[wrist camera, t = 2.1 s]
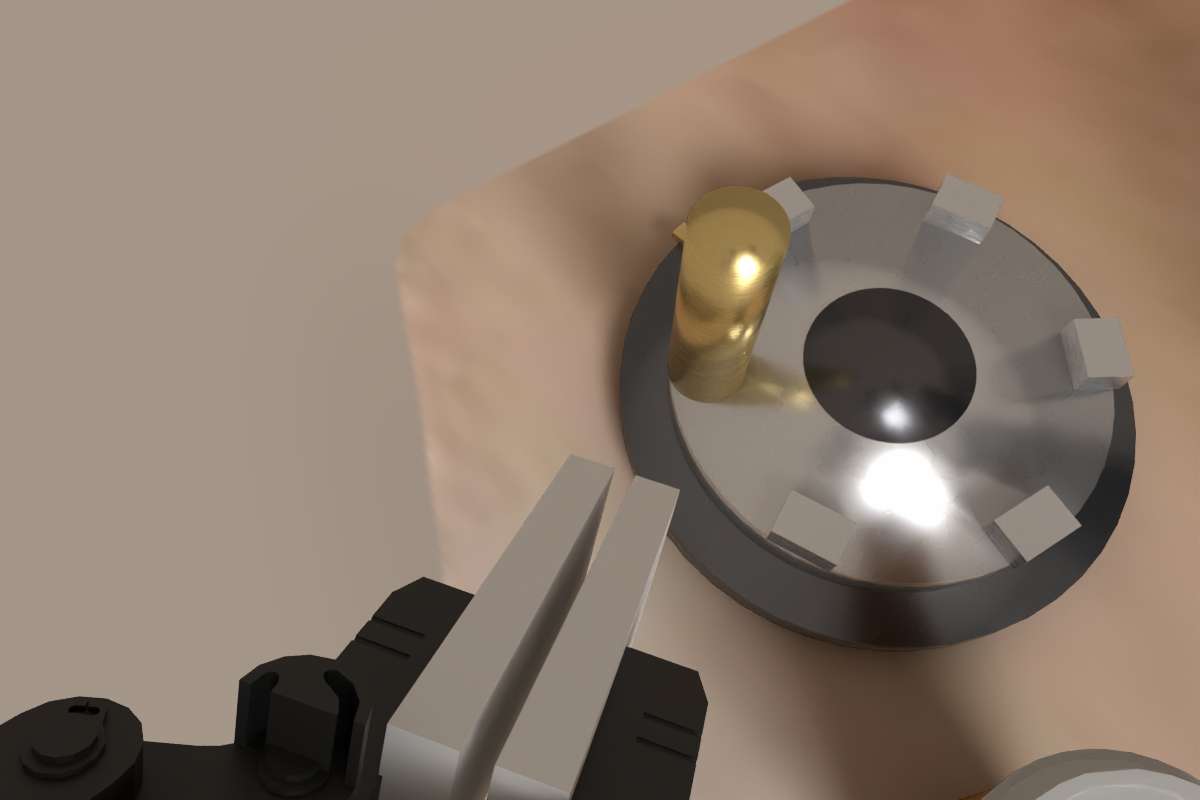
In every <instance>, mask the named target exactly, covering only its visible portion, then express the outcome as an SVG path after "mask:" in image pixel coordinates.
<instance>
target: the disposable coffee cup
mask: <svg viewBox="0 0 1200 800" xmlns="http://www.w3.org/2000/svg"><path fill="white" fill-rule="evenodd" d="M960 800H1200V781H1199V780H1198V779H1196V778H1194V777H1193V776H1191V775H1189V774H1188V773H1186V772H1184V771H1182V770H1180V769H1177V768H1175V767H1173V766H1170V765H1168V764H1166V763H1163V762H1161V761H1159V760H1155V759H1152V758H1148V757H1145V756H1142V755H1138V754H1135V753H1131V752H1123V751H1115V750H1107V749H1085V750H1075V751H1067V752H1061V753H1058V754H1054V755H1051V756H1048V757H1044V758H1041V759H1038V760H1036V761H1034V762H1032V763H1030V764H1028V765H1026V766H1024V767H1022V768H1020V769H1018V770H1016V771H1014V772H1013V773H1012V774H1010V775H1009V776H1008V777H1007V778H1006V779H1004V780H1003V781H1002V782H1001V783H1000V784H999V785H997V786H996V787H995V788H994V789H990V790H988V791H985V792H981V793H978V794H975V795H972V796H969V797H966V798H963V799H960Z"/></svg>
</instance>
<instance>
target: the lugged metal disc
mask: <svg viewBox="0 0 1200 800" xmlns="http://www.w3.org/2000/svg"><path fill="white" fill-rule="evenodd" d="M1004 198H1005V197H1002V196H1000V195H998V194H995V193H993V192H990V191H988V190H985V189H983V188H981V187H978V186H976V185H973V184H971V183H969V182H966V181H964V180H961V179H959V178H956V177H954V176H952V175H949V174H947V175H946V177H945V179H944V180H943V182H942V184H941V186H940V188H939V189H938V191H937V193H936V194H935V193H931V192H927V191H923V190H919V189H915V188H910V187H903V186H896V185H888V184H866V183H857V184H844V185H833V186H827V187H822V188H817V189H811V190H807V191H804V192H803V191H802V190H801V189H800V188H799V187H798V185H797V184H796V183H795V182H794V181H793V180H792V178H791V177H789V178H787V179H785V180H783V181H781V182H779V183H777V184H775V185H773V186H771V187H769V188H768V189H766V190H764V191H761V190H758V189H755V188H752V187H748V186H739V185H733V186H725V187H720V188H717V189H714V190H712V191H710V192H708V193H706V194H705V195H703V196H702V197H701V198H700V199H699V200H698V201H697V202H696V203H695V204H694V205H693V207H692V208H691V210H690V212H689V215H688V218H687V224H686V231H685V238H684V246H683V253H682V260H681V267H680V274H679V282H678V289H677V296H676V303H675V311H674V318H673V325H672V332H671V339H670V347H669V354H668V361H667V394H668V402H669V411H670V415H671V419H672V423H673V427H674V431H675V434H676V438H677V440H678V443H679V445H680V448H681V450H682V452H683V455H684V457H685V460H686V462H687V464H688V466H689V467H690V469H691V471H692V472H693V474H694V476H695V478H696V479H697V481H698V483H699V485H700V486H701V488H702V489H703V490H704V492H705V493H706V494H707V495H708V497H709V498H710V499H711V501H712V502H713V503H714V505H715V506H716V507H717V508H718V510H719V511H720V512H721V513H722V514H723V515H724V516H725V517H726V518H727V519H728V520H729V521H730V522H731V523H732V524H733V525H734V526H735V527H736V528H737V529H738V530H739V531H740V532H742V533H743V534H744V535H745V536H747V537H748V538H749V539H751V540H752V541H753V542H754V543H756V544H757V545H758V546H759V547H761V548H762V549H763V550H765V551H767V552H768V553H770V554H772V555H773V556H775V557H777V558H778V559H780V560H782V561H783V562H785V563H787V564H788V565H790V566H792V567H795V568H797V569H799V570H801V571H804V572H806V573H808V574H810V575H812V576H815V577H817V578H820V579H823V580H827V581H830V582H833V583H836V584H840V585H843V586H846V587H852V588H857V589H863V590H868V591H874V592H888V593H917V592H929V591H938V590H943V589H947V588H951V587H956V586H960V585H965V584H967V583H970V582H973V581H975V580H978V579H981V578H983V577H986V576H989V575H991V574H993V573H995V572H997V571H999V570H1001V569H1003V568H1005V567H1007V566H1009V565H1010V566H1011V567H1012V568H1013V569H1014V568H1016V567H1018V566H1020V565H1022V564H1024V563H1026V562H1028V561H1030V560H1031V559H1033V558H1034V557H1036V556H1037V555H1039V554H1040V553H1042V552H1043V551H1045V550H1046V549H1048V548H1049V547H1051V546H1052V545H1054V544H1055V543H1057V542H1058V541H1060V540H1061V539H1063V538H1064V537H1066V536H1067V535H1069V534H1070V533H1072V532H1073V531H1075V530H1076V529H1078V528H1079V527H1081V526H1082V525H1081V524H1080V523H1079V522H1078V521H1077V519H1076V518H1075V517H1074V516H1075V515H1076V514H1077V513H1078V512H1079V511H1080V509H1081V508H1082V506H1083V505H1084V503H1085V502H1086V500H1087V499H1088V497H1089V496H1090V494H1091V493H1092V491H1093V490H1094V488H1095V486H1096V483H1097V481H1098V479H1099V477H1100V474H1101V472H1102V470H1103V468H1104V465H1105V462H1106V459H1107V455H1108V451H1109V447H1110V444H1111V440H1112V432H1113V422H1114V391H1113V389H1119V388H1120V387H1121V386H1123V385H1124V384H1125V383H1127V382H1128V381H1129V380H1131V379H1132V378H1133V377H1135V376H1134V372H1133V369H1132V365H1131V361H1130V358H1129V354H1128V351H1127V347H1126V343H1125V340H1124V336H1123V333H1122V329H1121V325H1120V322H1119V318H1091V316H1090V314H1089V312H1088V310H1087V308H1086V307H1085V305H1084V304H1083V302H1082V301H1081V299H1080V298H1079V296H1078V295H1077V293H1076V292H1075V290H1074V289H1073V287H1072V286H1071V285H1070V283H1069V282H1068V281H1067V280H1066V279H1065V277H1064V276H1063V275H1062V274H1061V273H1060V271H1059V270H1058V269H1057V268H1056V267H1055V266H1054V265H1053V264H1052V263H1051V262H1050V261H1049V260H1048V259H1047V258H1046V257H1045V256H1044V255H1043V254H1042V253H1041V252H1040V251H1039V250H1038V249H1037V248H1036V247H1034V246H1033V245H1032V244H1031V243H1029V242H1028V241H1027V240H1025V239H1024V238H1023V237H1021V236H1020V235H1019V234H1018V233H1016V232H1015V231H1014V230H1012V229H1011V228H1009V227H1007V226H1006V225H1004V224H1002V223H1001V222H999V221H998V220H996V219H995V218H996V216H997V214H998V211H999V209H1000V207H1001V205H1002V203H1003V200H1004Z"/></svg>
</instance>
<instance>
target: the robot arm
mask: <svg viewBox="0 0 1200 800" xmlns="http://www.w3.org/2000/svg"><path fill="white" fill-rule="evenodd" d="M614 469H615V468H612V467H609V466H606V465H603V464H600V463H597V462H594V461H591V460H588V459H584V458H581V457H578V456H575V455H572V454H571V455H570V456H569V458H568V459H567V461H566V462H565V464H564V465H563V466H562V468H561V469H560V471H559V472H558V474H557V475H556V477H555V478H554V480H553V481H552V483H551V484H550V486H549V487H548V488H547V490H546V491H545V493H544V494H543V496H542V497H541V499H540V500H539V502H538V503H537V505H536V506H535V508H534V509H533V511H532V512H531V513H530V515H529V516H528V518H527V519H526V521H525V522H524V524H523V525H522V527H521V528H520V530H519V531H518V533H517V534H516V535H515V537H514V538H513V540H512V541H511V543H510V544H509V546H508V547H507V549H506V550H505V552H504V553H503V555H502V556H501V557H500V559H499V560H498V562H497V563H496V565H495V566H494V568H493V569H492V571H491V572H490V574H489V575H488V577H487V578H486V579H485V581H484V582H483V584H482V585H481V587H480V588H479V590H478V591H477V593H476V594H475V595H473V594H470V593H468V592H465V591H462V590H459V589H456V588H454V587H451V586H448V585H445V584H442V583H440V582H436V581H434V580H431V579H428V578H425V577H422V578H420V579H418V580H416V581H414V582H412V583H410V584H408V585H406V586H404V587H402V588H400V589H398V590H396V591H394V592H392V593H391V595H390V596H389V597H388V598H387V599H386V601H385V602H384V603H383V604H382V605H381V607H380V608H379V609H378V610H377V611H376V612H375V614H374V615H373V617H372V619H371V621H368V622H367V623H366V624H365V625H364V627H363V628H362V629H361V630H360V632H359V633H358V634H357V635H356V638H355V640H354V641H353V640H352V641H351V642H350V643H349V644H348V646H347V647H346V648H345V649H344V650H343V652H342V653H341V654H340V655H339V657H338V658H337V659H336V660H334V659H329V658H324V657H319V656H314V655H301V656H286V657H282V658H279V659H276V660H273V661H270V662H267V663H264V664H261V665H259V666H257V667H256V668H255V669H253V670H252V671H251V672H249V673H248V674H247V675H246V676H244V677H243V678H241V679H240V680H239V692H238V703H237V716H236V728H235V740H234V743H233V744H227V745H222V746H193V745H181V744H170V743H157V742H147V741H143V733H142V724H141V722H140V721H139V720H138V718H137V717H136V716H135V715H134V714H133V713H132V711H131V710H130V709H129V708H127V707H125V706H123V705H120V704H118V703H116V702H113V701H111V700H109V699H104V698H92V697H73V698H67V699H61V700H55V701H50V702H47V703H44V704H42V705H40V706H37V707H35V708H33V709H31V710H28V711H25V712H23V713H21V714H19V715H17V716H15V717H14V718H12V719H10V720H8V721H7V722H5V723H3V724H1V725H0V800H485V798H486V796H487V794H488V796H487V800H689V798H690V793H691V788H692V783H693V778H694V772H695V767H696V761H697V757H698V752H699V747H700V742H701V735H702V732H703V726H704V721H705V716H706V711H707V706H708V701H707V698H706V695H705V692H704V689H703V686H702V683H701V680H700V676H699V673H698V671H695V670H692V669H689V668H686V667H684V666H681V665H678V664H675V663H672V662H670V661H667V660H664V659H661V658H658V657H655V656H653V655H650V654H647V653H644V652H641V651H639V650H636V649H633V648H631V646H632V643H633V640H634V637H635V634H636V632H637V629H638V626H639V623H640V620H641V616H642V613H643V610H644V607H645V603H646V600H647V597H648V593H649V590H650V587H651V584H652V580H653V577H654V574H655V571H656V567H657V564H658V561H659V557H660V554H661V551H662V548H663V544H664V541H665V538H666V535H667V531H668V528H669V525H670V521H671V518H672V515H673V512H674V508H675V505H676V502H677V499H678V495H679V492H680V489H676V488H673V487H670V486H667V485H664V484H661V483H658V482H655V481H652V480H649V479H646V478H643V477H640V476H637V475H635V477H634V480H633V482H632V484H631V486H630V488H629V490H628V492H627V494H626V496H625V498H624V500H623V502H622V504H621V506H620V508H619V510H618V512H617V515H616V517H615V519H614V521H613V523H612V525H611V527H610V529H609V531H608V533H607V535H606V537H605V539H604V541H603V543H602V545H601V548H600V550H599V552H598V554H597V556H596V558H595V560H594V562H593V564H592V566H591V568H590V570H589V572H588V574H587V576H586V573H587V569H588V566H589V562H590V558H591V554H592V551H593V547H594V543H595V539H596V536H597V532H598V528H599V525H600V521H601V517H602V513H603V510H604V506H605V502H606V498H607V495H608V491H609V487H610V483H611V480H612V476H613V472H614ZM585 577H586V578H585Z"/></svg>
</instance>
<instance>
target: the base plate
mask: <svg viewBox="0 0 1200 800" xmlns="http://www.w3.org/2000/svg"><path fill="white" fill-rule="evenodd" d="M857 183H866V184H888V185H896V186H903V187H910V188H915V189H919V190H923V191H927V192H931V193H935V194H936V193H937V192H936V191H933V190H930V189H927V188H924V187H920V186H915V185H910V184H906V183H901V182H896V181H890V180H880V179H871V178H825V179H816V180H807V181H801V182H796V184H797V185H798V187H799V188H800V189H801V190H802V191H803V192H804V191H807V190H811V189H817V188H822V187H827V186H833V185H844V184H857ZM995 219H996V220H998V221H999V222H1001V223H1002V224H1004V225H1006V226H1007V227H1009V228H1011V229H1012V230H1014V231H1015V232H1016V233H1018V234H1019V235H1020V236H1021V237H1023V238H1024V239H1025V240H1027V241H1028V242H1029V243H1031V244H1032V245H1033V246H1034V247H1036V248H1037V249H1038V250H1039V251H1040V252H1041V253H1042V254H1043V255H1044V256H1045V257H1046V258H1047V259H1048V260H1049V261H1050V262H1051V263H1052V264H1053V265H1054V266H1055V267H1056V268H1057V269H1058V270H1059V271H1060V273H1061V274H1062V275H1063V276H1064V277H1065V279H1066V280H1067V281H1068V282H1069V283H1070V285H1071V286H1072V287H1073V289H1074V290H1075V292H1076V293H1077V295H1078V296H1079V298H1080V299H1081V301H1082V302H1083V304H1084V305H1085V307H1086V308H1087V310H1088V312H1089V314H1090V316H1091V318H1100V316H1099V315H1098V313H1097V312H1096V310H1095V309H1094V307H1093V306H1092V305H1091V303H1090V302H1089V300H1088V299H1087V298H1086V296H1085V295H1084V293H1083V292H1082V291H1081V289H1080V288H1079V287H1078V286H1077V285H1076V283H1075V282H1074V281H1073V280H1072V279H1071V278H1070V277H1069V276H1068V275H1067V273H1066V272H1065V271H1064V270H1063V269H1062V268H1061V267H1060V266H1059V265H1058V264H1057V263H1056V262H1055V261H1054V260H1053V259H1052V258H1051V257H1049V256H1048V255H1047V254H1046V253H1045V252H1044V251H1043V250H1042V249H1040V248H1039V247H1038V246H1037V245H1036V244H1035V243H1033V242H1032V241H1031V240H1029V239H1028V238H1026V237H1025V236H1024V235H1022V234H1021V233H1019V232H1018V231H1017V230H1015V229H1014V228H1012V227H1011V226H1010V225H1008V224H1006V223H1005V222H1003V221H1001V220H999V219H998V218H995ZM685 231H686V223H685V222H683V223H682V224H681V225H680V226H679V227H678V228H676V229H675V230H674V231H673V232H672V237H673V238H674V239H675V240H676V241H678V242H679V243H678V244H677V246H676V247H675V248H674V249H673V250H672V251H671V252H670V254H669V255H668V256H667V257H666V258H665V259H664V260H663V262H662V263H661V264H660V265H659V267H658V268H657V270H656V271H655V273H654V275H653V276H652V278H651V279H650V281H649V282H648V284H647V285H646V287H645V289H644V291H643V293H642V295H641V297H640V300H639V302H638V304H637V306H636V308H635V310H634V313H633V315H632V319H631V322H630V326H629V329H628V332H627V336H626V339H625V344H624V351H623V358H622V365H621V383H620V399H621V420H622V427H623V434H624V441H625V445H626V449H627V452H628V456H629V459H630V463H631V466H632V470H633V473H634V475H637V476H640V477H643V478H646V479H649V480H652V481H655V482H658V483H661V484H664V485H667V486H670V487H673V488H676V489H680V492H679V495H678V499H677V502H676V505H675V508H674V512H673V515H672V518H671V521H670V525H669V528H668V531H667V536H668V537H669V538H670V539H671V541H672V542H673V543H674V544H675V546H676V547H677V548H678V549H679V551H680V552H681V553H682V554H683V556H684V557H685V558H686V559H687V560H688V561H689V562H690V563H691V564H692V565H693V566H694V567H695V568H696V569H697V570H698V571H699V572H701V573H702V574H703V575H704V576H705V577H706V578H707V579H708V580H709V581H710V582H711V583H712V584H714V585H715V586H716V587H718V588H719V589H720V590H722V591H723V592H724V593H726V594H727V595H728V596H730V597H731V598H732V599H734V600H735V601H736V602H738V603H739V604H740V605H742V606H744V607H746V608H748V609H749V610H751V611H753V612H755V613H756V614H758V615H760V616H762V617H763V618H765V619H767V620H769V621H770V622H772V623H775V624H777V625H780V626H782V627H784V628H787V629H789V630H792V631H794V632H796V633H799V634H801V635H804V636H807V637H810V638H814V639H818V640H821V641H825V642H828V643H832V644H836V645H839V646H845V647H853V648H860V649H867V650H874V651H917V650H925V649H933V648H940V647H948V646H951V645H955V644H959V643H962V642H966V641H969V640H973V639H976V638H980V637H983V636H986V635H989V634H991V633H994V632H997V631H999V630H1001V629H1003V628H1006V627H1008V626H1010V625H1012V624H1015V623H1017V622H1019V621H1021V620H1024V619H1026V618H1028V617H1030V616H1031V615H1033V614H1034V613H1036V612H1037V611H1039V610H1041V609H1042V608H1044V607H1045V606H1047V605H1048V604H1050V603H1051V602H1053V601H1054V600H1056V599H1057V598H1058V597H1060V596H1061V595H1062V594H1063V593H1064V592H1065V591H1066V590H1067V589H1068V588H1070V587H1071V586H1072V585H1073V584H1074V583H1075V582H1076V581H1077V580H1079V579H1080V578H1081V577H1082V576H1083V574H1084V573H1085V572H1086V571H1087V569H1088V568H1089V567H1090V566H1091V564H1092V563H1093V562H1094V561H1095V559H1096V558H1097V557H1098V556H1099V554H1100V553H1101V552H1102V550H1103V549H1104V547H1105V545H1106V543H1107V542H1108V540H1109V538H1110V536H1111V535H1112V533H1113V531H1114V529H1115V527H1116V526H1117V524H1118V521H1119V519H1120V516H1121V513H1122V510H1123V508H1124V505H1125V502H1126V500H1127V497H1128V494H1129V489H1130V484H1131V479H1132V474H1133V469H1134V464H1135V440H1136V430H1135V420H1134V410H1133V401H1132V397H1131V393H1130V389H1129V385H1128V382H1127V383H1125V384H1124V385H1123V386H1121V387H1120V388H1119V389H1113V391H1114V422H1113V432H1112V440H1111V444H1110V447H1109V451H1108V455H1107V459H1106V462H1105V465H1104V468H1103V470H1102V472H1101V474H1100V477H1099V479H1098V481H1097V483H1096V486H1095V488H1094V490H1093V491H1092V493H1091V494H1090V496H1089V497H1088V499H1087V500H1086V502H1085V503H1084V505H1083V506H1082V508H1081V509H1080V511H1079V512H1078V513H1077V514H1076V515H1075V516H1074V517H1075V518H1076V519H1077V521H1078V522H1079V523H1080V524H1081V525H1082V526H1081V527H1079V528H1078V529H1076V530H1075V531H1073V532H1072V533H1070V534H1069V535H1067V536H1066V537H1064V538H1063V539H1061V540H1060V541H1058V542H1057V543H1055V544H1054V545H1052V546H1051V547H1049V548H1048V549H1046V550H1045V551H1043V552H1042V553H1040V554H1039V555H1037V556H1036V557H1034V558H1033V559H1031V560H1030V561H1028V562H1026V563H1024V564H1022V565H1020V566H1018V567H1016V568H1014V569H1013V568H1012V567H1011V566H1010V565H1009V566H1007V567H1005V568H1003V569H1001V570H999V571H997V572H995V573H993V574H991V575H989V576H986V577H983V578H981V579H978V580H975V581H973V582H970V583H967V584H965V585H960V586H956V587H951V588H947V589H943V590H938V591H929V592H917V593H888V592H874V591H868V590H863V589H857V588H852V587H846V586H843V585H840V584H836V583H833V582H830V581H827V580H823V579H820V578H817V577H815V576H812V575H810V574H808V573H806V572H804V571H801V570H799V569H797V568H795V567H792V566H790V565H788V564H787V563H785V562H783V561H782V560H780V559H778V558H777V557H775V556H773V555H772V554H770V553H768V552H767V551H765V550H763V549H762V548H761V547H759V546H758V545H757V544H756V543H754V542H753V541H752V540H751V539H749V538H748V537H747V536H745V535H744V534H743V533H742V532H740V531H739V530H738V529H737V528H736V527H735V526H734V525H733V524H732V523H731V522H730V521H729V520H728V519H727V518H726V517H725V516H724V515H723V514H722V513H721V512H720V511H719V510H718V508H717V507H716V506H715V505H714V503H713V502H712V501H711V499H710V498H709V497H708V495H707V494H706V493H705V492H704V490H703V489H702V488H701V486H700V485H699V483H698V481H697V479H696V478H695V476H694V474H693V472H692V471H691V469H690V467H689V466H688V464H687V462H686V460H685V457H684V455H683V452H682V450H681V448H680V445H679V443H678V440H677V438H676V434H675V431H674V427H673V423H672V419H671V415H670V411H669V402H668V394H667V361H668V354H669V347H670V339H671V332H672V325H673V318H674V311H675V303H676V296H677V289H678V282H679V274H680V267H681V260H682V253H683V246H684V238H685Z"/></svg>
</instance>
